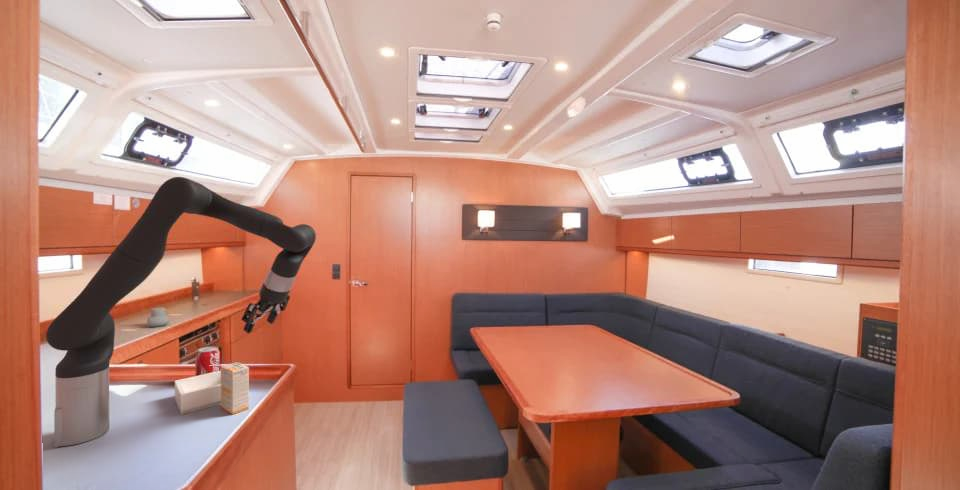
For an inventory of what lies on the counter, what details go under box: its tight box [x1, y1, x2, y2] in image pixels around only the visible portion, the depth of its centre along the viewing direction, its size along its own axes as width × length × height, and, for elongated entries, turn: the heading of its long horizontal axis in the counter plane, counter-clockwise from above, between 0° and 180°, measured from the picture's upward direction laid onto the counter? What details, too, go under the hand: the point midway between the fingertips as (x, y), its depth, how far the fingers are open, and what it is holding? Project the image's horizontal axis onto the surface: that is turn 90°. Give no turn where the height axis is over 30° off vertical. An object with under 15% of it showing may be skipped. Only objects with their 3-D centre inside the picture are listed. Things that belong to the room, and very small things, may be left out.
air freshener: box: [147, 306, 170, 328], centre depth 194 cm, size 11×8×10 cm
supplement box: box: [220, 361, 250, 415], centre depth 106 cm, size 8×5×13 cm, turn 58°
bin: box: [174, 370, 221, 416], centre depth 111 cm, size 14×14×6 cm
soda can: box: [195, 345, 221, 376], centre depth 124 cm, size 7×7×12 cm
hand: (258, 326), depth 107 cm, fingers open, 8 cm apart
